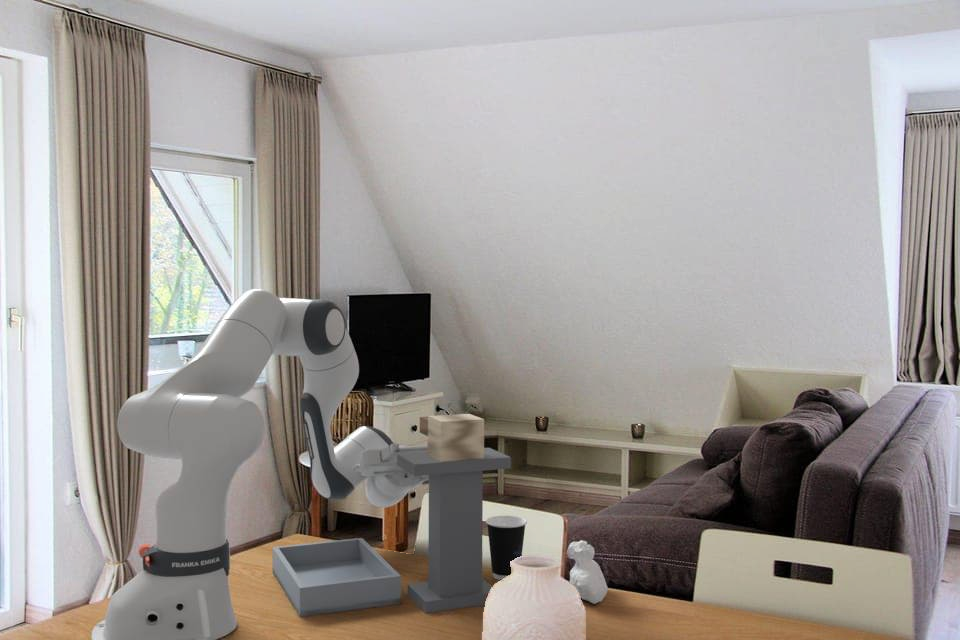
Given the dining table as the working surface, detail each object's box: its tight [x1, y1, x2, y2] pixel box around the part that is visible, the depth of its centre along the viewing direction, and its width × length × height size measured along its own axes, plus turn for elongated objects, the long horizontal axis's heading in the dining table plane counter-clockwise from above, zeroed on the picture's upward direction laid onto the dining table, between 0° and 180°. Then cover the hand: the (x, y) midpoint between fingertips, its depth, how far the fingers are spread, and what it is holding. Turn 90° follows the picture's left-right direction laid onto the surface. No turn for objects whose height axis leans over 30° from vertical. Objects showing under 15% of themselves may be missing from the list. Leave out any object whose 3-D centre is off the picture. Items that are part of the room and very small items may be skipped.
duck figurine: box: [566, 539, 609, 605], centre depth 172 cm, size 12×8×11 cm
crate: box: [272, 537, 402, 618], centre depth 176 cm, size 18×26×5 cm
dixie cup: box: [485, 515, 528, 581], centre depth 183 cm, size 8×8×11 cm
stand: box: [397, 447, 512, 614], centre depth 170 cm, size 18×10×26 cm, turn 112°
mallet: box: [419, 413, 485, 462], centre depth 174 cm, size 8×19×7 cm, turn 22°
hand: (418, 446), depth 187 cm, fingers open, 8 cm apart
